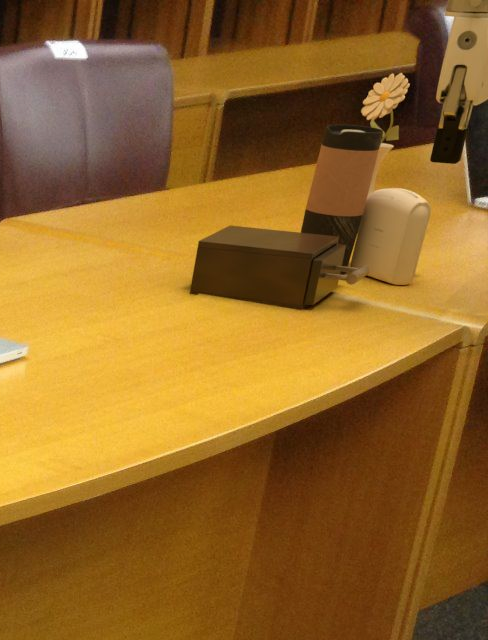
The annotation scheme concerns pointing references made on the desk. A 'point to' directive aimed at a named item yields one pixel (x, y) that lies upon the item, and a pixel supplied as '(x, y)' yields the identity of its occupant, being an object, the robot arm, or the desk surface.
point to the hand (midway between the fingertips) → (444, 161)
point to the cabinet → (258, 265)
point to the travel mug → (342, 183)
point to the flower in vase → (384, 113)
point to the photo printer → (391, 235)
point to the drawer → (330, 274)
